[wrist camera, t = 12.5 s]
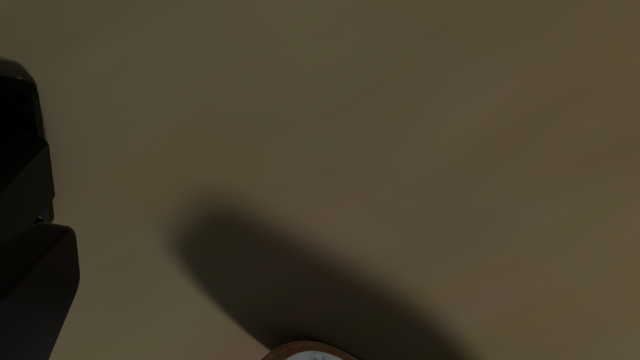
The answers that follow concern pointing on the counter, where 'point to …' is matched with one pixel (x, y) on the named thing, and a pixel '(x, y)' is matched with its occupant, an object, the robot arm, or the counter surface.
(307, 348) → the tin
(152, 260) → the counter surface
